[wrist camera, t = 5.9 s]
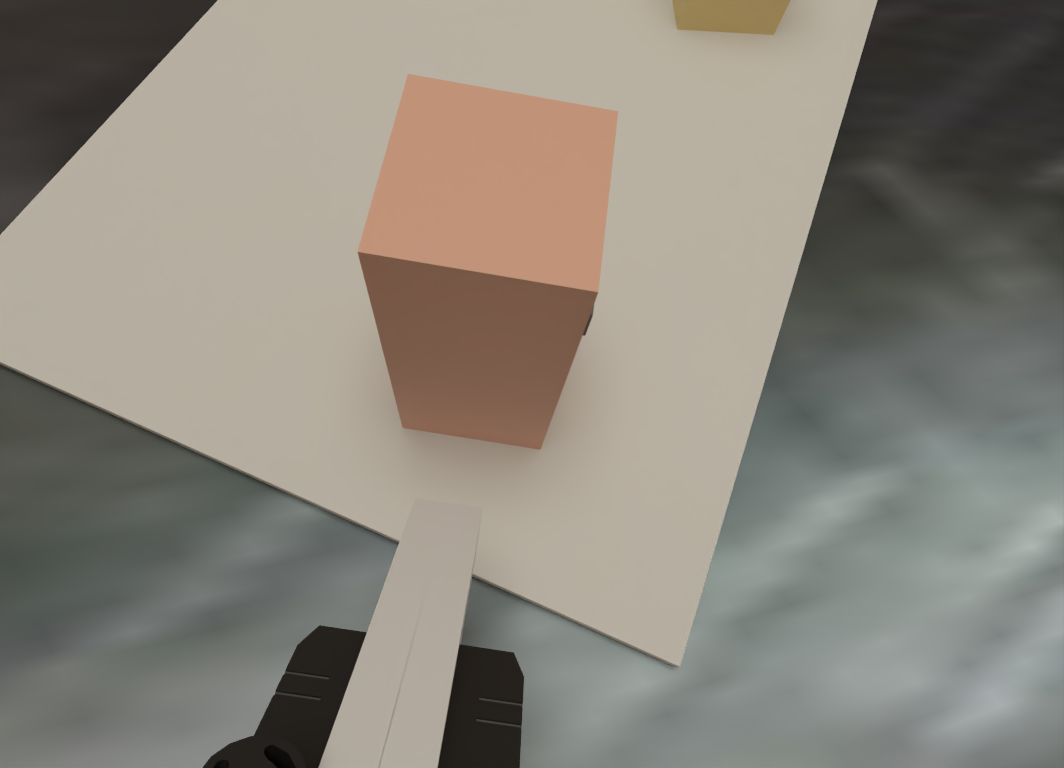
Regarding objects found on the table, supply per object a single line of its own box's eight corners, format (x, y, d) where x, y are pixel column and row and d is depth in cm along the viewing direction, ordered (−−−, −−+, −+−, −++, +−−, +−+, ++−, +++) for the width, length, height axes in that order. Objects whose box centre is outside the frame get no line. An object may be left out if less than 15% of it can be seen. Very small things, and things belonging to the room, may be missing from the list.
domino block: (546, 450, 22) (608, 293, 12) (402, 427, 21) (357, 251, 12) (562, 329, 23) (627, 112, 14) (429, 306, 23) (407, 73, 14)
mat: (673, 666, 20) (679, 666, 19) (-70, 333, 22) (-84, 324, 21) (885, -40, 34) (892, -51, 33) (424, -208, 36) (423, -222, 35)
